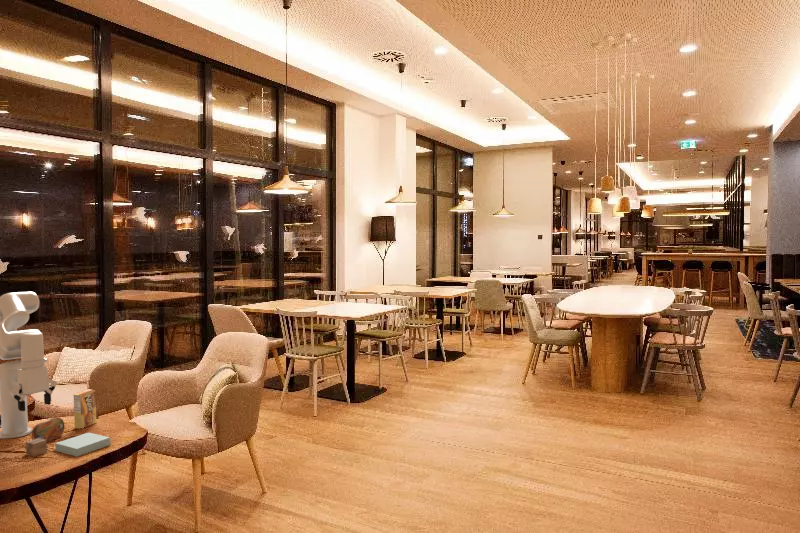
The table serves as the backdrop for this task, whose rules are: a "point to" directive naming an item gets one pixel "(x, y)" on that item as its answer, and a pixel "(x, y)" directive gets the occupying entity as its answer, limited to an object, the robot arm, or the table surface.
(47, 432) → the tin
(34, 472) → the table surface
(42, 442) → the walnut block
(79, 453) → the plinth
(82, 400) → the candy box
